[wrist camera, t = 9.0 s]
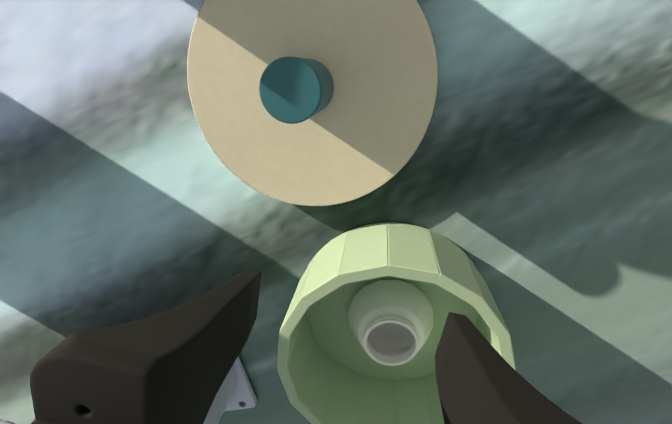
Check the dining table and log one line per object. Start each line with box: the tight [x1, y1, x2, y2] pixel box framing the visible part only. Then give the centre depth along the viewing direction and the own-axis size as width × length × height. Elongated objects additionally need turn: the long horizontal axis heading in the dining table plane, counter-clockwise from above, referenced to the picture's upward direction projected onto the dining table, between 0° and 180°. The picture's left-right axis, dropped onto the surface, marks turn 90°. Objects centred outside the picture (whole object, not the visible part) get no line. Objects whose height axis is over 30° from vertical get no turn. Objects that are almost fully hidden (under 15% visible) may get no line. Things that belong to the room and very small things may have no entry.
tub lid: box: [187, 0, 438, 206], centre depth 18 cm, size 13×13×5 cm
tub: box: [276, 222, 516, 424], centre depth 22 cm, size 12×12×6 cm
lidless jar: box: [348, 280, 434, 366], centre depth 23 cm, size 5×3×5 cm
